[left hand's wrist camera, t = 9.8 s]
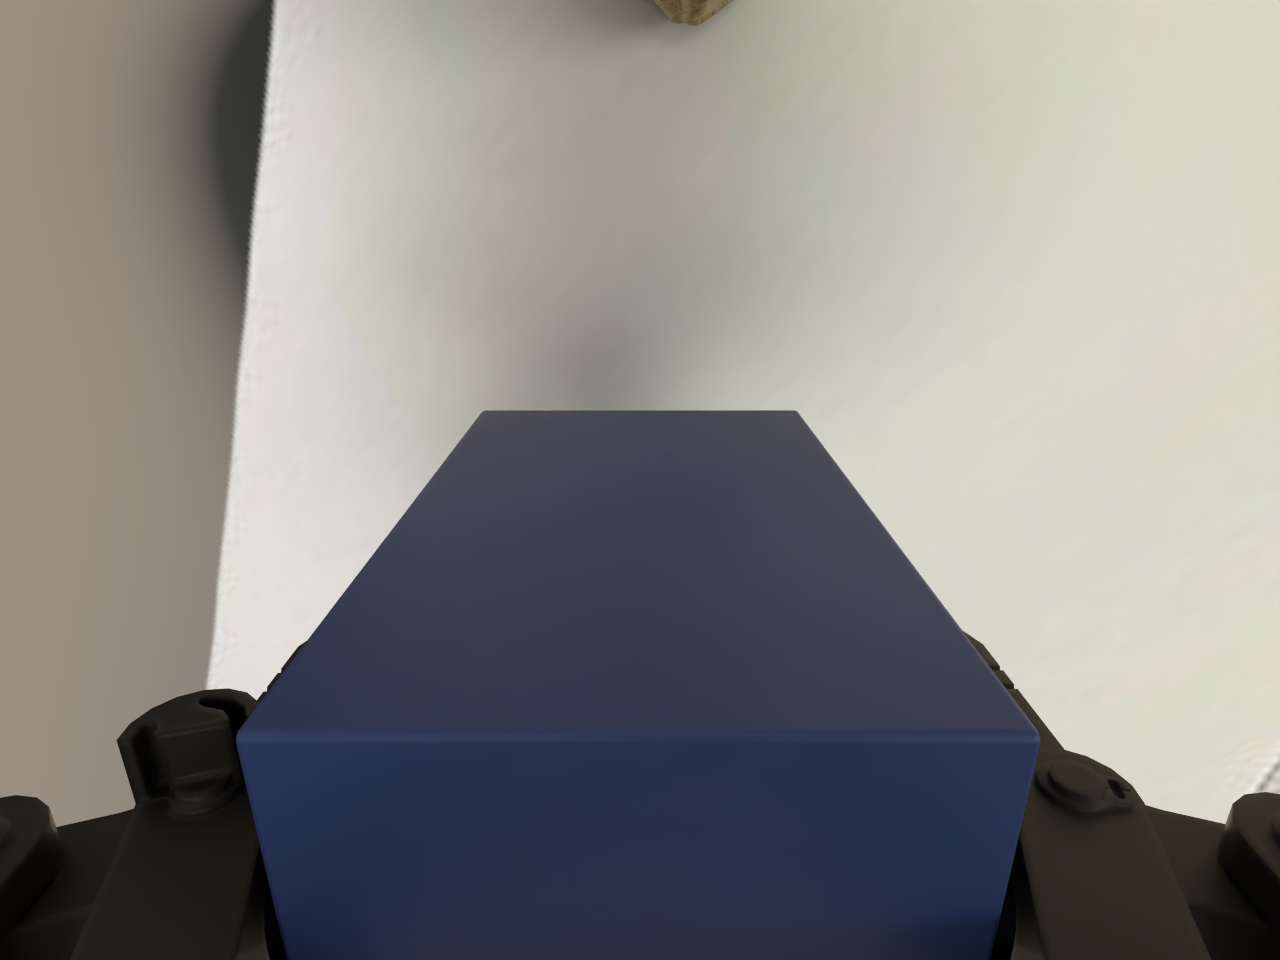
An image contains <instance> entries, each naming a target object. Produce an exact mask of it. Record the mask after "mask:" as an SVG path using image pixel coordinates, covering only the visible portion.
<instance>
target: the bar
mask: <svg viewBox="0 0 1280 960" xmlns="http://www.w3.org/2000/svg"><path fill="white" fill-rule="evenodd" d="M236 745H237V749H238V753H239V758H240V762H241V766H242V771H243V775H244V779H245V783H246V788H247V792H248V796H249V801H250V805H251V809H252V813H253V818H254V822H255V826H256V831H257V835H258V839H259V843H260V848H261V852H262V856H263V860H264V865H265V869H266V873H267V878H268V882H269V886H270V890H271V895H272V899H273V903H274V908H275V912H276V916H277V920H278V925H279V929H280V933H281V938H282V942H283V946H284V950H285V955H286V959H287V960H990V959H991V955H992V951H993V946H994V942H995V938H996V933H997V929H998V925H999V920H1000V916H1001V912H1002V907H1003V903H1004V898H1005V894H1006V890H1007V885H1008V881H1009V877H1010V872H1011V868H1012V864H1013V859H1014V855H1015V851H1016V846H1017V842H1018V838H1019V833H1020V829H1021V824H1022V820H1023V816H1024V811H1025V807H1026V803H1027V798H1028V794H1029V790H1030V785H1031V781H1032V777H1033V772H1034V768H1035V763H1036V759H1037V755H1038V750H1039V746H1040V736H1039V732H1038V731H1037V729H1036V728H1035V727H1034V725H1033V724H1032V723H1031V721H1030V720H1029V719H1028V717H1027V716H1026V715H1025V713H1024V712H1023V711H1022V709H1021V708H1020V707H1019V705H1018V704H1017V703H1016V701H1015V700H1014V699H1013V697H1012V696H1011V695H1010V693H1009V692H1008V691H1007V689H1006V688H1005V687H1004V685H1003V684H1002V683H1001V681H1000V680H999V679H998V678H997V676H996V675H995V674H994V672H993V671H992V670H991V668H990V667H989V666H988V664H987V663H986V662H985V660H984V659H983V658H982V656H981V655H980V654H979V652H978V651H977V650H976V648H975V647H974V646H973V644H972V643H971V642H970V640H969V639H968V638H967V636H966V635H965V634H964V632H963V631H962V630H961V628H960V627H959V626H958V624H957V623H956V622H955V620H954V619H953V618H952V616H951V615H950V614H949V612H948V611H947V610H946V608H945V607H944V606H943V605H942V603H941V602H940V601H939V599H938V598H937V597H936V595H935V594H934V593H933V591H932V590H931V589H930V587H929V586H928V585H927V583H926V582H925V581H924V579H923V578H922V577H921V575H920V574H919V573H918V571H917V570H916V569H915V567H914V566H913V565H912V563H911V562H910V561H909V559H908V558H907V557H906V555H905V554H904V553H903V551H902V550H901V549H900V547H899V546H898V545H897V543H896V542H895V541H894V539H893V538H892V537H891V535H890V534H889V533H888V531H887V530H886V529H885V528H884V526H883V525H882V524H881V522H880V521H879V520H878V518H877V517H876V516H875V514H874V513H873V512H872V510H871V509H870V508H869V506H868V505H867V504H866V502H865V501H864V500H863V498H862V497H861V496H860V494H859V493H858V492H857V490H856V489H855V488H854V486H853V485H852V484H851V482H850V481H849V480H848V478H847V477H846V476H845V474H844V473H843V472H842V470H841V469H840V468H839V466H838V465H837V464H836V462H835V461H834V460H833V458H832V457H831V456H830V455H829V453H828V452H827V451H826V449H825V448H824V447H823V445H822V444H821V443H820V441H819V440H818V439H817V437H816V436H815V435H814V433H813V432H812V431H811V429H810V428H809V427H808V425H807V424H806V423H805V421H804V420H803V419H802V417H801V416H800V415H799V413H798V412H797V411H483V412H482V413H481V414H480V416H479V417H478V418H477V419H476V421H475V422H474V423H473V425H472V426H471V427H470V429H469V430H468V431H467V433H466V434H465V435H464V436H463V438H462V439H461V440H460V442H459V443H458V444H457V446H456V447H455V448H454V450H453V451H452V452H451V453H450V455H449V456H448V457H447V459H446V460H445V461H444V463H443V464H442V465H441V467H440V468H439V469H438V470H437V472H436V473H435V474H434V476H433V477H432V478H431V480H430V481H429V482H428V484H427V485H426V486H425V487H424V489H423V490H422V491H421V493H420V494H419V495H418V497H417V498H416V499H415V501H414V502H413V503H412V504H411V506H410V507H409V508H408V510H407V511H406V512H405V514H404V515H403V516H402V518H401V519H400V520H399V521H398V523H397V524H396V525H395V527H394V528H393V529H392V531H391V532H390V533H389V535H388V536H387V537H386V538H385V540H384V541H383V542H382V544H381V545H380V546H379V548H378V549H377V550H376V552H375V553H374V554H373V555H372V557H371V558H370V559H369V561H368V562H367V563H366V565H365V566H364V567H363V569H362V570H361V571H360V572H359V574H358V575H357V576H356V578H355V579H354V580H353V582H352V583H351V584H350V586H349V587H348V588H347V589H346V591H345V592H344V593H343V595H342V596H341V597H340V599H339V600H338V601H337V603H336V604H335V605H334V606H333V608H332V609H331V610H330V612H329V613H328V614H327V616H326V617H325V618H324V620H323V621H322V622H321V623H320V625H319V626H318V627H317V629H316V630H315V631H314V633H313V634H312V635H311V637H310V638H309V639H308V640H307V642H306V643H305V644H304V646H303V647H302V648H301V650H300V651H299V652H298V654H297V655H296V656H295V657H294V659H293V660H292V661H291V663H290V664H289V665H288V667H287V668H286V669H285V671H284V672H283V673H282V674H281V676H280V677H279V678H278V680H277V681H276V682H275V684H274V685H273V686H272V688H271V689H270V690H269V691H268V693H267V694H266V695H265V697H264V698H263V699H262V701H261V702H260V703H259V705H258V706H257V707H256V708H255V710H254V711H253V712H252V714H251V715H250V716H249V718H248V719H247V720H246V722H245V723H244V724H243V725H242V727H241V728H240V729H239V731H238V733H237V737H236Z"/></svg>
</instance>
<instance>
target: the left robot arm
mask: <svg viewBox="0 0 1280 960" xmlns="http://www.w3.org/2000/svg"><path fill="white" fill-rule="evenodd" d="M963 632H964V631H963ZM964 634H965V635H966V636H967V638H968V639H969V640H970V642H971V643H972V644H973V646H974V647H975V648H976V650H977V651H978V652H979V654H980V655H981V656H982V658H983V659H984V660H985V662H986V663H987V664H988V666H989V667H990V668H991V670H992V671H993V672H994V674H995V675H996V676H997V678H998V679H999V680H1000V681H1001V683H1002V684H1003V685H1004V687H1005V688H1006V689H1007V691H1008V692H1009V693H1010V695H1011V696H1012V697H1013V699H1014V700H1015V701H1016V703H1017V704H1018V705H1019V707H1020V708H1021V709H1022V711H1023V712H1024V713H1025V715H1026V716H1027V717H1028V719H1029V720H1030V721H1031V723H1032V724H1033V725H1034V727H1035V728H1036V729H1037V731H1038V732H1039V736H1040V746H1039V750H1038V755H1037V759H1036V763H1035V768H1034V772H1033V777H1032V781H1031V785H1030V790H1029V794H1028V798H1027V803H1026V807H1025V811H1024V816H1023V820H1022V824H1021V829H1020V833H1019V838H1018V842H1017V846H1016V851H1015V855H1014V859H1013V864H1012V868H1011V872H1010V877H1009V881H1008V885H1007V890H1006V894H1005V898H1004V903H1003V907H1002V912H1001V916H1000V920H999V925H998V929H997V933H996V938H995V942H994V946H993V951H992V955H991V959H990V960H1280V794H1274V793H1268V792H1263V793H1254V794H1245V795H1244V796H1242V797H1241V798H1240V799H1238V800H1237V801H1236V802H1234V803H1233V805H1232V808H1231V810H1230V813H1229V816H1228V819H1227V822H1226V824H1222V823H1217V822H1213V821H1208V820H1204V819H1199V818H1195V817H1191V816H1186V815H1182V814H1177V813H1173V812H1168V811H1164V810H1160V809H1157V808H1153V807H1150V806H1146V805H1145V804H1144V802H1143V801H1142V799H1141V798H1140V796H1139V795H1138V793H1137V792H1136V791H1135V789H1134V788H1133V786H1132V785H1131V784H1130V783H1128V782H1127V781H1126V780H1125V779H1123V778H1122V777H1121V776H1120V775H1118V774H1117V773H1116V772H1115V771H1113V770H1112V769H1111V768H1109V767H1107V766H1105V765H1103V764H1101V763H1099V762H1097V761H1095V760H1093V759H1091V758H1089V757H1087V756H1084V755H1080V754H1077V753H1073V752H1070V751H1067V750H1064V748H1063V747H1062V746H1061V745H1060V743H1059V742H1058V741H1057V739H1056V738H1055V737H1054V736H1053V734H1052V733H1051V732H1050V730H1049V729H1048V728H1047V727H1046V725H1045V724H1044V723H1043V721H1042V720H1041V719H1040V718H1039V716H1038V715H1037V714H1036V712H1035V711H1034V710H1033V708H1032V707H1031V706H1030V705H1029V703H1028V702H1027V701H1026V699H1025V698H1024V697H1023V696H1022V694H1021V693H1020V692H1019V690H1018V689H1014V684H1013V683H1012V681H1011V680H1010V679H1009V678H1008V676H1007V675H1006V674H1005V672H1004V671H1000V666H999V665H998V663H997V662H996V661H995V659H994V658H993V657H992V656H991V654H990V653H989V652H988V650H987V649H986V648H985V647H984V645H983V644H982V643H980V642H979V641H977V640H976V639H974V638H973V637H971V636H970V635H968V634H967V633H965V632H964ZM306 642H307V641H306ZM306 642H304V643H303V644H302V645H300V646H299V647H298V648H297V649H296V650H295V652H294V653H293V654H292V655H291V657H290V658H289V659H288V661H287V662H286V663H285V665H284V666H283V667H282V668H281V673H278V674H277V675H276V676H275V678H274V679H273V680H272V681H271V683H270V684H269V685H268V687H267V692H263V693H262V694H261V696H260V697H259V698H258V700H255V699H254V698H253V697H252V696H251V695H249V694H248V693H247V692H242V691H237V690H233V689H214V690H203V691H199V692H195V693H191V694H187V695H183V696H179V697H176V698H174V699H172V700H170V701H167V702H165V703H163V704H161V705H158V706H156V707H154V708H152V709H150V710H149V711H147V712H146V713H145V714H143V715H142V716H140V717H139V718H137V719H136V720H135V721H133V722H132V723H130V724H129V726H128V727H127V728H126V729H125V731H124V732H123V733H122V734H121V736H120V737H119V738H118V739H117V743H118V746H119V750H120V753H121V756H122V760H123V763H124V766H125V769H126V773H127V776H128V779H129V783H130V786H131V789H132V793H133V796H134V799H135V802H136V805H135V807H134V809H131V810H128V811H125V812H121V813H117V814H113V815H109V816H104V817H100V818H95V819H91V820H86V821H82V822H78V823H74V824H69V825H64V826H60V827H56V825H55V822H54V820H53V817H52V814H51V811H50V808H49V807H48V806H47V805H46V804H45V803H43V802H42V801H41V800H39V799H38V798H35V797H26V796H17V795H15V796H9V797H2V798H0V960H287V959H286V955H285V950H284V946H283V942H282V938H281V933H280V929H279V925H278V920H277V916H276V912H275V908H274V903H273V899H272V895H271V890H270V886H269V882H268V878H267V873H266V869H265V865H264V860H263V856H262V852H261V848H260V843H259V839H258V835H257V831H256V826H255V822H254V818H253V813H252V809H251V805H250V801H249V796H248V792H247V788H246V783H245V779H244V775H243V771H242V766H241V762H240V758H239V753H238V749H237V745H236V737H237V733H238V731H239V729H240V728H241V727H242V725H243V724H244V723H245V722H246V720H247V719H248V718H249V716H250V715H251V714H252V712H253V711H254V710H255V708H256V707H257V706H258V705H259V703H260V702H261V701H262V699H263V698H264V697H265V695H266V694H267V693H268V691H269V690H270V689H271V688H272V686H273V685H274V684H275V682H276V681H277V680H278V678H279V677H280V676H281V674H282V673H283V672H284V671H285V669H286V668H287V667H288V665H289V664H290V663H291V661H292V660H293V659H294V657H295V656H296V655H297V654H298V652H299V651H300V650H301V648H302V647H303V646H304V644H305V643H306Z"/></svg>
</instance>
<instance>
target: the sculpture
mask: <svg viewBox="0 0 1280 960" xmlns="http://www.w3.org/2000/svg"><path fill="white" fill-rule="evenodd" d="M731 1H732V0H654V2H655V3H656V4H657V5H658V6H659V7H660V8H661V10H662V11H663V12H664V14H665V15H666V16H667V17H668V18H669V19H670V20H671V21H673V22H674V23H682V22H685V23H687V24H689V25H698V24H701V23H703V22H704V21H705V20H707V19H708V18H710V17H711V16H712V15H714V14H715V13H717V12H718V11H719V10H721V9H722V8H723V7H725V6H726V5H727V4H728V3H730V2H731Z"/></svg>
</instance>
